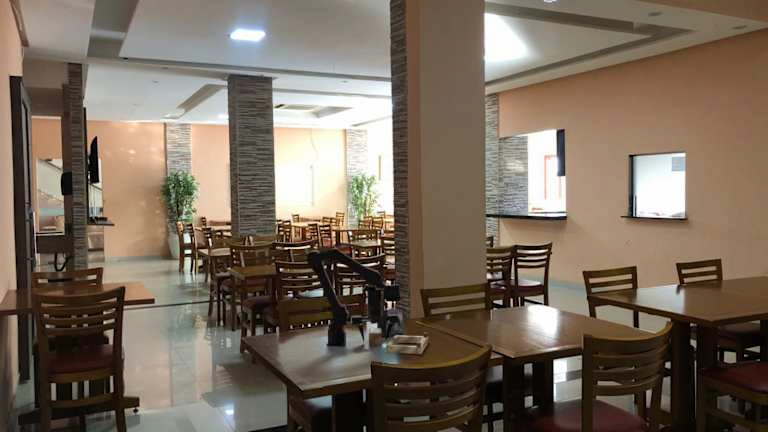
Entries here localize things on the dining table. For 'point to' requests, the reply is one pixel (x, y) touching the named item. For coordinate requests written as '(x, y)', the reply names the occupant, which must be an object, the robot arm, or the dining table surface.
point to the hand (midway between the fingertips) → (375, 340)
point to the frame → (375, 337)
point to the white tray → (420, 341)
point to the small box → (395, 328)
